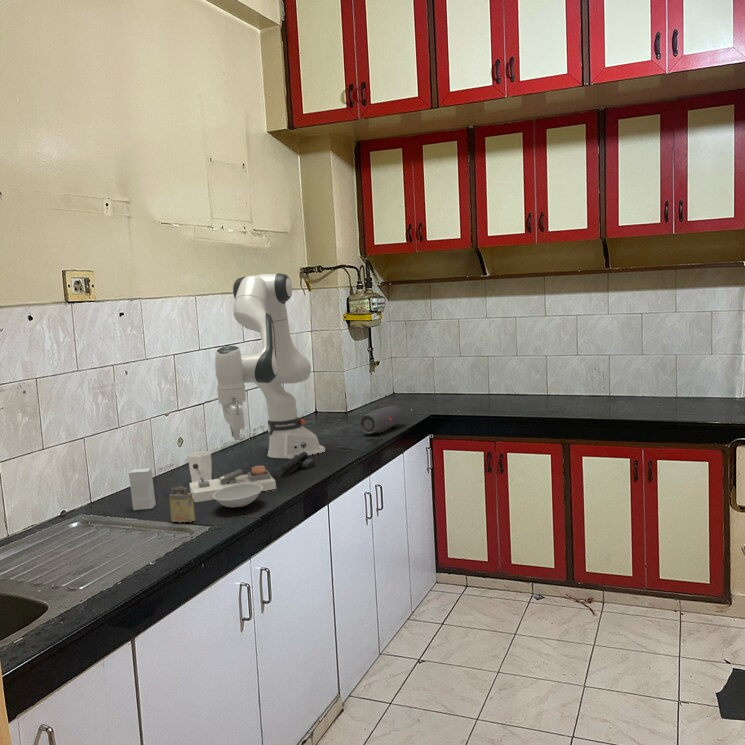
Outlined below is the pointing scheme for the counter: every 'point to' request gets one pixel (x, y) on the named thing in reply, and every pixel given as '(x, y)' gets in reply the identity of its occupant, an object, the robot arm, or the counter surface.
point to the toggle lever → (198, 472)
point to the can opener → (297, 463)
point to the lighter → (181, 505)
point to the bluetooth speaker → (380, 419)
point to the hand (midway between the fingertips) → (235, 438)
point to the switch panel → (209, 487)
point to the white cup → (200, 465)
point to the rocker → (231, 475)
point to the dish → (237, 495)
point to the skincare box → (142, 489)
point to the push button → (258, 470)
